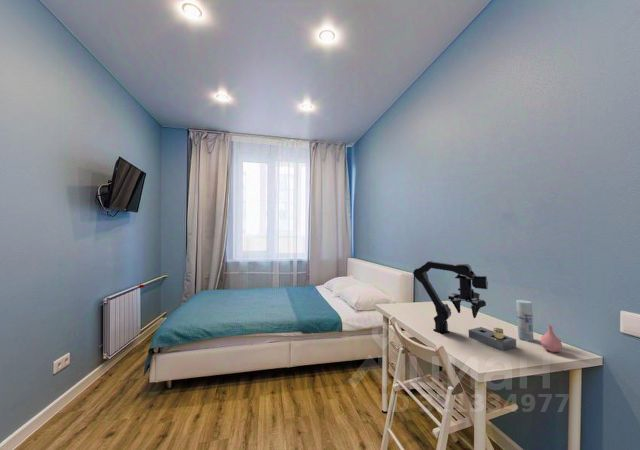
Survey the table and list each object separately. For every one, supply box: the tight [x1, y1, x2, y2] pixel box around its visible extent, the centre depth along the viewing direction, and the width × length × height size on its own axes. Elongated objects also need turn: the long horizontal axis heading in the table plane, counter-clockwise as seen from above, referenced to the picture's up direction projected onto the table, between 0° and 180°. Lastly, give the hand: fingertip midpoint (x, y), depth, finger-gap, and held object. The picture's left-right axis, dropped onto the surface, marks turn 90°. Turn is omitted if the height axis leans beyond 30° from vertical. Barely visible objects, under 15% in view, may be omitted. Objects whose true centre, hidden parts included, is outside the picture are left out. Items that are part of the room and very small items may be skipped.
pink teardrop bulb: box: [540, 324, 563, 353], centre depth 119 cm, size 8×8×12 cm
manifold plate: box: [468, 326, 517, 352], centre depth 130 cm, size 10×18×4 cm, turn 22°
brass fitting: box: [493, 327, 505, 340], centre depth 126 cm, size 4×4×8 cm
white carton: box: [515, 299, 534, 343], centre depth 133 cm, size 6×6×20 cm
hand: (466, 315), depth 137 cm, fingers open, 9 cm apart
